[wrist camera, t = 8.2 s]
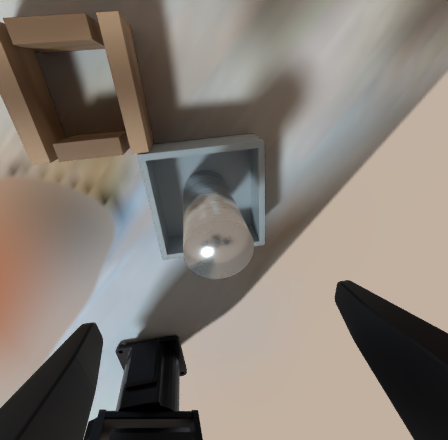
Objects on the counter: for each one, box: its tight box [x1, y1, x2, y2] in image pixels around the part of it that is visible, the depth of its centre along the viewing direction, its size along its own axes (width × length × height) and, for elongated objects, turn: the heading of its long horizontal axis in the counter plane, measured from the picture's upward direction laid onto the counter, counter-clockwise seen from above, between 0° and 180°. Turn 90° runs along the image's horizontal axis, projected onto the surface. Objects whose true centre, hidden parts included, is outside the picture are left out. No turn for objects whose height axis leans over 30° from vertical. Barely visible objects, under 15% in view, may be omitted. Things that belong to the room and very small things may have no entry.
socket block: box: [0, 11, 154, 165], centre depth 14 cm, size 7×7×3 cm
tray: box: [137, 133, 265, 260], centre depth 18 cm, size 8×8×3 cm
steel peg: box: [183, 170, 254, 279], centre depth 16 cm, size 4×4×8 cm
